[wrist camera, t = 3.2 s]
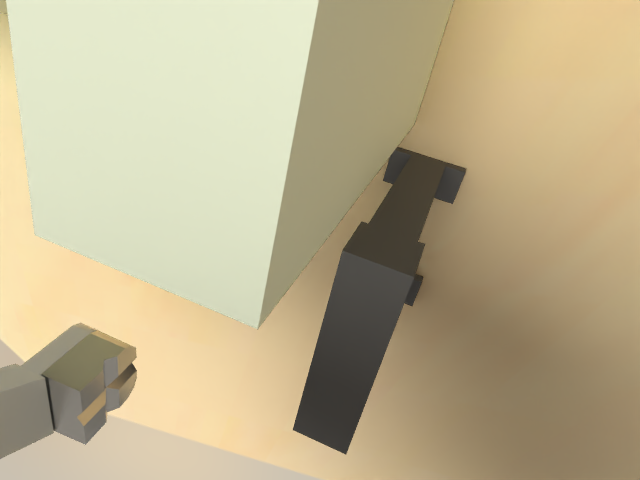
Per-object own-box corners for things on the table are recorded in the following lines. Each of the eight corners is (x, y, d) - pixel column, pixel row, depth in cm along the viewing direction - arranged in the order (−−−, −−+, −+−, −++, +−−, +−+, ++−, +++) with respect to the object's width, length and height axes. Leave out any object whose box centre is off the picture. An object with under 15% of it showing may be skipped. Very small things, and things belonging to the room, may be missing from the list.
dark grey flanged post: (466, 169, 19) (439, 286, 11) (414, 300, 22) (364, 462, 14) (394, 146, 19) (319, 242, 11) (354, 278, 23) (275, 421, 15)
